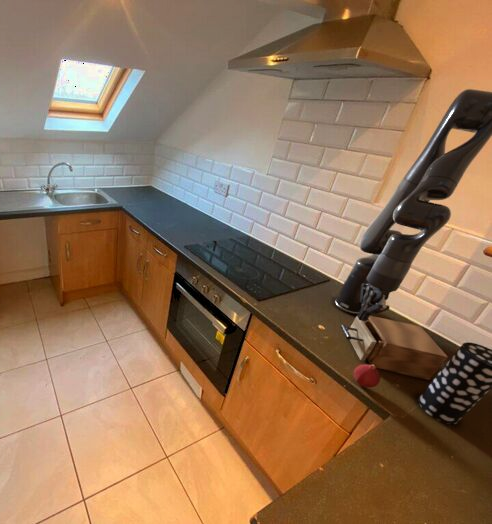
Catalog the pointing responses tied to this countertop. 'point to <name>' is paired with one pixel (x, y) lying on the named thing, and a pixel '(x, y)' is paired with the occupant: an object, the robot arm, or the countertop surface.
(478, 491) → the countertop surface
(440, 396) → the white-spotted black cylinder
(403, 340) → the cabinet
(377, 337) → the drawer
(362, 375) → the onion
